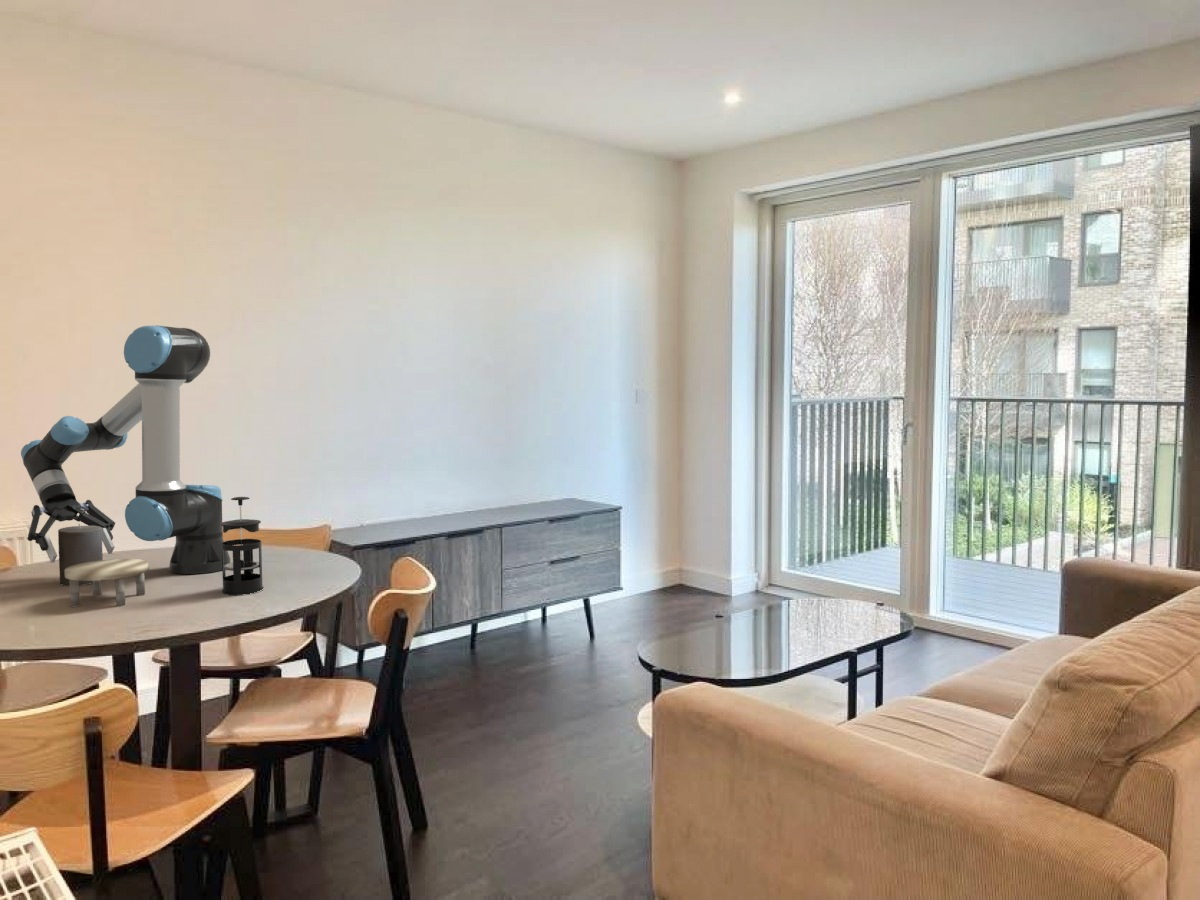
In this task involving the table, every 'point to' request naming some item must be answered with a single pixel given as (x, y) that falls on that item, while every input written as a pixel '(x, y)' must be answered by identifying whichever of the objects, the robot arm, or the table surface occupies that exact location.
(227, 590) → the french press
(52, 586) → the table surface
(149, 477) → the robot arm
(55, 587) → the table surface
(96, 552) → the pillar candle
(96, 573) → the beige round legged stand
